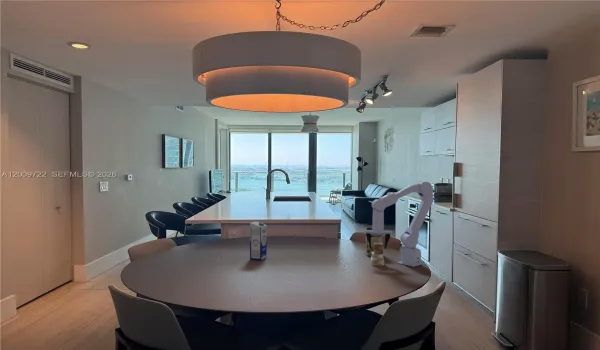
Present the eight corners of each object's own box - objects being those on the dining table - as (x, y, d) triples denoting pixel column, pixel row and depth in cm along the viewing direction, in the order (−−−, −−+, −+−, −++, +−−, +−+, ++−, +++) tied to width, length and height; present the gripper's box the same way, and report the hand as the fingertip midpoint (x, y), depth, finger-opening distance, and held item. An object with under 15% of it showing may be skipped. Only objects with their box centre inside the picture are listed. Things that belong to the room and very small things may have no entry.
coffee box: (366, 255, 207) (366, 227, 207) (365, 253, 214) (365, 226, 214) (382, 256, 207) (382, 228, 206) (381, 253, 213) (381, 226, 213)
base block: (383, 263, 193) (383, 257, 193) (384, 266, 187) (384, 260, 187) (370, 262, 194) (370, 257, 194) (371, 265, 188) (371, 260, 188)
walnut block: (382, 252, 192) (382, 242, 192) (382, 254, 188) (383, 244, 188) (373, 251, 193) (373, 242, 193) (374, 253, 189) (374, 244, 188)
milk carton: (255, 256, 202) (255, 220, 202) (266, 257, 200) (267, 221, 200) (249, 259, 196) (250, 222, 195) (261, 260, 193) (261, 223, 193)
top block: (382, 257, 193) (382, 252, 193) (383, 260, 187) (383, 254, 187) (371, 257, 194) (371, 251, 194) (372, 259, 188) (372, 254, 188)
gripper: (364, 223, 187) (364, 249, 187) (393, 224, 185) (392, 250, 185) (363, 221, 194) (363, 246, 194) (391, 222, 192) (391, 247, 192)
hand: (377, 248), depth 190 cm, fingers open, 7 cm apart
